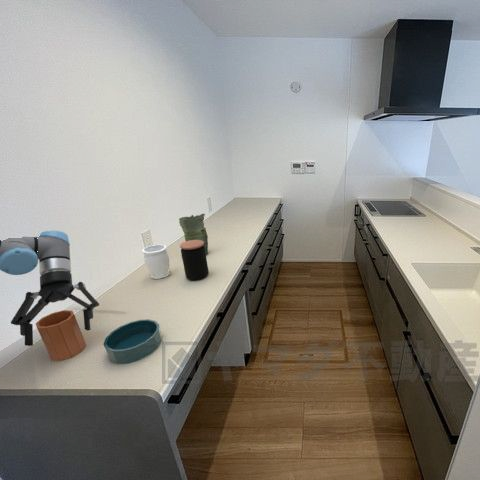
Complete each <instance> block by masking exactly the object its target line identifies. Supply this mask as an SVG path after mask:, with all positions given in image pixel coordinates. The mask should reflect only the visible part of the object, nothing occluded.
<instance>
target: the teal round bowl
mask: <svg viewBox="0 0 480 480" xmlns="http://www.w3.org/2000/svg"><path fill="white" fill-rule="evenodd" d="M162 339H163V335H162V330H161V328H160V324H159V323H158V321H156V320H153V319H150V318H148V319H147V318H146V319H137V320H134V321H129V322H128V323H125V324H123V325H120V326H119V327H117V328H115V329H114V330H112V331H111V332H109V334H108V335H107V336H106V337H105V338H104V341H103V345H102V346H103V348H104V351H105V353H106V356H107V358H108V361H109V362H111V363H113V364H116V365H124V364H131V363H134V362H137V361H140V360H142V359H144V358H146V357H148V356H150V355H151V354H153V352H155V351H156V350H157V349H158V348H159V347H160V345H161V344H162V342H163V340H162Z"/></svg>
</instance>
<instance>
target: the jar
mask: <svg viewBox="0 0 480 480" xmlns="http://www.w3.org/2000/svg"><path fill="white" fill-rule="evenodd" d="M167 249H168V248H167V246H166V245H165V244H153V245H148V246H146V247H144V248H143V249H142V250H141V252H142V254H143V259H144V264H145V266H146V268H147V271H148V272H149V274H150V278H151V279H154V280H160V279H165V278H166V277H168V276H169V275H170V274H171V273H170V271H169V270H170V257H169V253H168V251H167Z"/></svg>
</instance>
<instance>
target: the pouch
mask: <svg viewBox="0 0 480 480" xmlns="http://www.w3.org/2000/svg"><path fill="white" fill-rule="evenodd" d="M205 216H206V213H201V214H199V215H197V214H196V215H195V216H194V215H193V214H191V215H190V216H182V217H179V218H178V221H179V222H178V223H179V226H180V227H181V230H182V231H183V235H184V240H185V241H184V242H186V241H190V240H202V241H203V242H204V247H205V252H206V255H208V254H209V241H208V239H209V236H208V233H207V228H206V227H205V223H204V220H205Z"/></svg>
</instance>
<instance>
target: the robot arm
mask: <svg viewBox="0 0 480 480" xmlns="http://www.w3.org/2000/svg"><path fill="white" fill-rule="evenodd" d="M40 233H41V234H40ZM40 233H39V234H40V236H39V235H38V236H39V237H38V236H23V237H22V238H8V239H6V240H3V241H1V240H0V271H1V272H4V273H6V274H8V275H11V276H22V275H25V274H28V273H31V272H32V271H33V270H35V269H36V267H37V266H38V265H39V275H40V276H39V288H40V289H39V290H38V291H34V292H32V291H27V292H26V293H25V298H24V300H23V302H22V303H21V304H20V307H19V308H18V310H17V311H16V313H15V315H14V316H13V317H12V319H11V321H10V324H11V325H14V326H19V335H20V336H23V337H24V346H26V347H32V346H34V329H33V327H34V326H33V323H31V322H32V321H33V320H34V319H35V318H36V317H37V316H38V315H39V314H40V313H41V311H42V310H43V309H45V307H47V306H48V305H49V304H50V303H57V302H63V301H66V300H67V299H70V300H72V301H74V302H75V303H77V304H78V305H80V306H81V307H83V308H84V309H83V310H82V312H83V323H84V324H83V325H84V330H85V331H91V320H92V319H94V309H95V308H96V307H99V306H100V303H99V302H98V300H96V299H95V298H94V296H93V295H92V294H91V293H90V292H89V290H88V289H87V288H86V284H85V283H84V282H82V281H79V282H78V283H76V284H73V275H72V263H71V250H70V248H71V247H70V246H71V244H70V240H69V235H68V234H67V233H66V232H64V231H61V230H54V229H53V230H45V231H44V230H43V231H42V232H40ZM37 238H38V239H37ZM37 251H38V252H37ZM75 289H76V290H77V291H80V292H81V293H82V294H83V296H85V297H86V299H88V301H89V302H90V304H89V303H87V302H85V301H84V300H82V299H80V298H79V297H77V296H75V295H74V294H72V293H73V292H74V290H75ZM38 297H40V298H39V299H38V301H37V302H36V304H35V305H34V306H33V304H34V302H35V300H36V299H37V298H38ZM32 306H33V307H32ZM31 307H32V308H31Z"/></svg>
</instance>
